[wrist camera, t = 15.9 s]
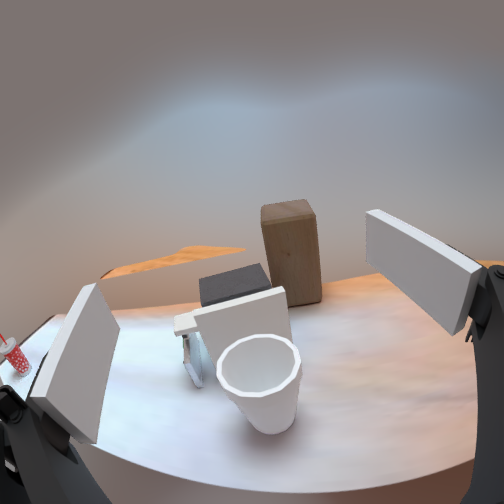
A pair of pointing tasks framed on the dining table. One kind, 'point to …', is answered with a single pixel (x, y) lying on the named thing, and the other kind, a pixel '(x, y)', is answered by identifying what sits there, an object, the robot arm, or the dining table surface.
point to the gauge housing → (218, 292)
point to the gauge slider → (237, 320)
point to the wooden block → (293, 250)
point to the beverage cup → (15, 356)
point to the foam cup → (262, 380)
